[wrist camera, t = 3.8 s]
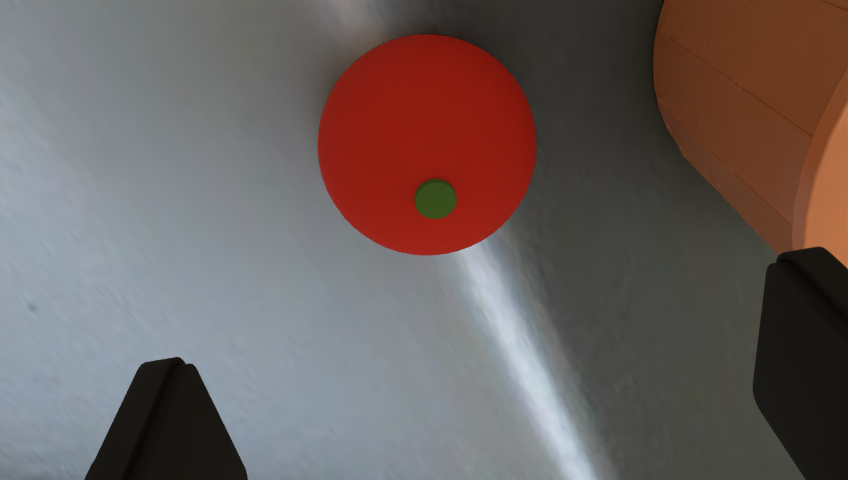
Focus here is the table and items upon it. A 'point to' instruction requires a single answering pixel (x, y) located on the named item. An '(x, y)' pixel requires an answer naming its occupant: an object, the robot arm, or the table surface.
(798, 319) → the robot arm
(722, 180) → the pot
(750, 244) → the table surface
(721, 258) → the table surface
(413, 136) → the tomato
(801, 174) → the pot lid
